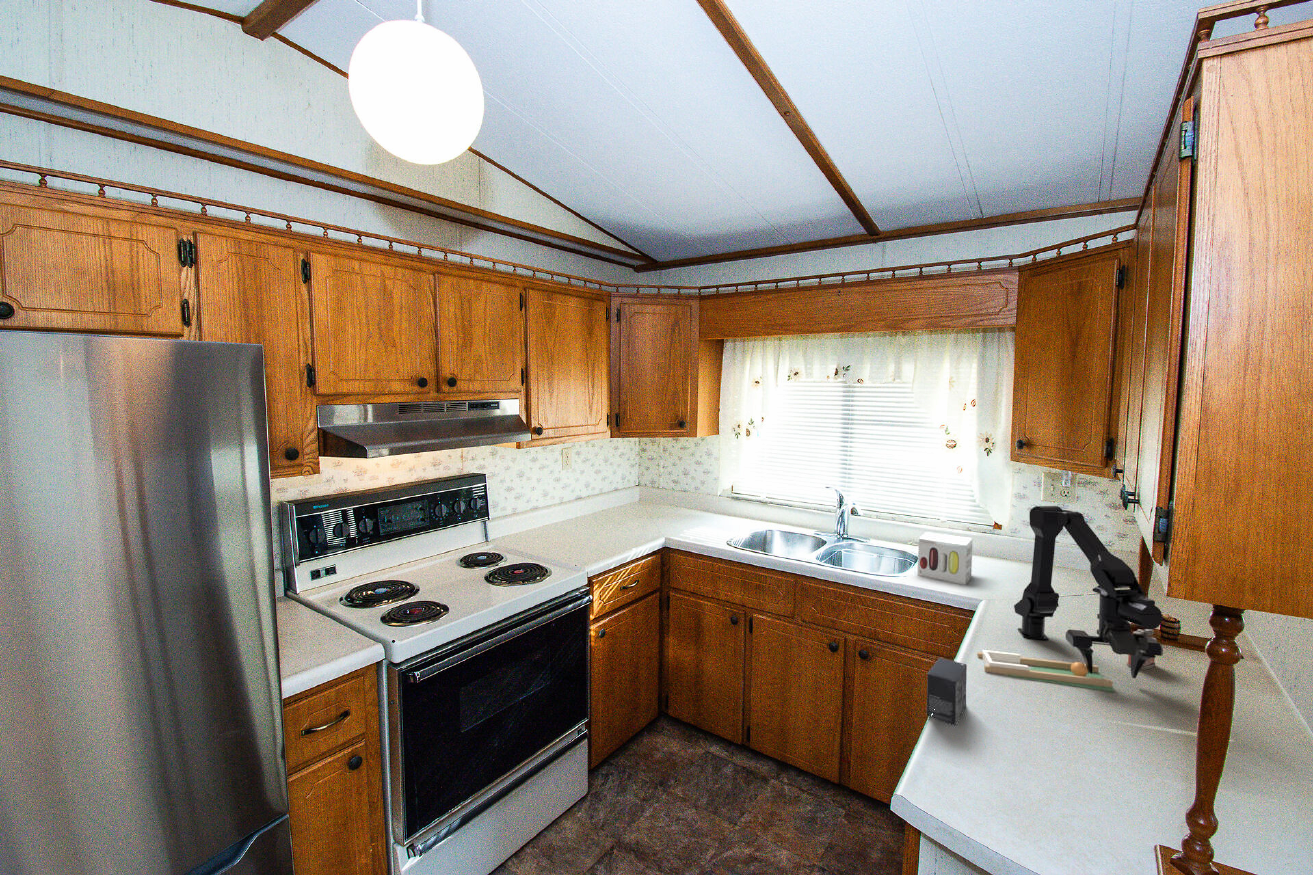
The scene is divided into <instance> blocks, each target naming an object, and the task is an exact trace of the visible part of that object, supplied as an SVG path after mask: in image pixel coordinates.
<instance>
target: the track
mask: <svg viewBox="0 0 1313 875" xmlns="http://www.w3.org/2000/svg"><path fill="white" fill-rule="evenodd" d="M976 654H977V658H978V659H982V652H979V651H977V653H976ZM1073 663H1074V662H1068V661H1059V660H1053V659H1051V660H1050V659H1044V658H1043V659H1041V658H1034V657H1033V658H1032V657H1024V656H1020V665H1030V666H1033V667H1029V671H1026V670H1017V669H1009V668H1000V667H992V666H989V665H985V664H984V668H983V669H984V672H986V673H992V674H999V675H1004V676H1005V677H1006V678H1007V677H1008V678H1014V679H1015V678H1016V679H1023V680H1029V681H1036V682H1043V683H1051V684H1057V685H1064V686H1070V687H1071V686H1072V687H1078V688H1084V689H1091V690H1092V689H1093V690H1097V691H1098V690H1099V691H1104V692H1105V691H1106V692H1115V689H1114V687H1113V683H1114V681H1113V680H1112V679H1110V678H1109V679H1108V678H1104V677H1103V675H1101V674H1100V673H1099V670H1100V669H1099V668H1100V667H1099V666H1098V665H1096V664H1095V665H1094V664H1093V671H1092V674H1090V673H1089V671H1088V673H1087V675H1086V676H1085V677H1084V676H1075V675H1074V674H1073V673H1072V672H1071V665H1072V664H1073ZM1083 664H1084V665H1085V666H1086V664H1085V663H1083ZM1086 667H1087V666H1086Z"/></svg>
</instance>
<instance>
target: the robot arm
mask: <svg viewBox="0 0 1313 875" xmlns="http://www.w3.org/2000/svg"><path fill="white" fill-rule="evenodd" d="M1028 515H1029V526H1030V528H1031V530H1032V532H1033V533H1034V543H1033V544H1034V546H1033V555H1032V565H1031V566H1032V567H1031V579H1030V582H1029V583H1028V584H1027V586H1026V587H1025V588H1024V589H1023V593H1022V597H1021V599H1020V600H1019V601H1018V602H1017V603H1016V604H1014V605H1013V609H1014V613H1016V615H1019V616H1021V627H1020V628H1019V627H1018V628H1017V631H1018V632H1019V634H1020V635H1021V636H1022V637H1023V638H1024V639H1034V640H1043V641H1049V640H1050V639H1049V637H1048V636H1047V635H1046V634H1045V628H1046V618H1053V617H1054V614H1055V612H1056V611H1057V608H1058V607H1060V605H1059V598H1060V595H1059V593H1058V592H1056V591H1055V590H1054V588H1053V586H1052V580H1053V570H1054V560H1055V548H1056V538H1057V537H1058V536H1059V534H1060V533H1061V532H1062V531H1063V530H1064V528H1065V530H1066V531H1067V532H1068V534H1069V535H1070V536H1071V538H1072V539H1073V541H1074V542H1075V544H1077V546H1078V547H1079V549H1080V550H1081V551H1082V553H1083V554H1084V556H1085V557H1086V558H1087V560H1088V561H1089V563H1090V566H1089V567H1090V573H1091V575H1092V576H1093V578H1094V580H1095V582H1096V584H1097V586H1096V587H1094V588H1093V587H1092V590H1091V591H1092V592H1094V593H1096V594H1099V603H1098V604H1099V609H1098V610H1099V611H1098V613H1097V616H1096V618H1097V619H1098V629H1096V634H1097V635H1098V636H1097V635H1089V634H1088V633H1087V632H1086V631H1085V630H1079V629H1068V630H1067V631H1066V632H1065V640H1066V641H1067V642H1068V643H1069V644H1070V645H1071V646H1072V647H1074V648H1076V649H1077V650H1078V651H1079V652H1080V653H1081V655H1082V660H1084V664H1086V666H1087V669H1088V671H1089V673H1090V674H1092V671H1093V665H1094V664H1093V653H1094V650H1093V649H1092V647H1093V644H1094V645H1100V646H1101V645H1102V646H1110V648H1111V649H1112V652H1113V653H1114V654H1116V655H1120V656H1121V655H1127V656H1128V655H1131V668H1130V676H1131V678H1133V679H1136V678H1137V676H1138V675H1139V673H1140V670H1142V669H1141V667H1142V665H1143V664H1144V663H1145V661H1146V660H1148V659H1150V658H1156V657H1159V656H1160V657H1163V656H1164V648H1163V645H1162V644H1161V643H1160V642H1159V641H1158V640H1157V639H1156V640H1157V641H1156V640H1154V639H1153V638H1154V637H1153V638H1152V636H1149V637H1148V636H1146V635H1140V634H1133V631H1132V629H1131V624H1134V625H1136V626H1139V627H1141V628H1144V629H1145V630H1146V629H1150V630H1155V629H1157V628H1159V627H1160V625H1161V624H1162V623H1163V618H1164V614H1162V611H1161V609H1160V608H1159V607H1158V606H1157V605H1156V601H1155V600H1154V599H1151V598H1146V594H1145V592H1144V590H1143V588H1142V586H1141V585H1140V583H1139V581H1138V579H1137V577H1136V575H1135V572H1134V570H1133V569H1132V568H1131V567H1130V566H1129V565H1128V564H1127V563H1126V562H1125V561H1124V560H1123V559H1122V558H1119V557H1118V556H1116V555H1114V554H1112V553H1111V551H1109V550H1108V548H1107V547H1106V546H1105V544H1104V543H1103V542H1102V541H1101V539H1099V537H1098V536H1097V535H1096V533H1095V532H1094V531H1093V529H1092V527H1091V526H1090V525H1089V524H1088V523H1087V521H1086V520H1085V517H1084V515H1083V514H1082V513H1081V512H1079V511H1073V510H1067V509H1062V508H1061V507H1060V506H1058V505H1038V506H1037V505H1036V506H1034V507H1032V508H1031V509H1030V511H1029V514H1028Z"/></svg>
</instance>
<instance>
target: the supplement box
mask: <svg viewBox="0 0 1313 875" xmlns="http://www.w3.org/2000/svg"><path fill="white" fill-rule="evenodd" d="M973 540H974V539H973V537H968V536H958V535H953V534H952V535H951V534H943V533H936V532H929V531H925V533H923V534H921V536H920V537H919V538H918V549H917V550H918V554H917V576H919V577H925V578H929V579H934V580H938V581H943V582H944V581H945V582H949V583H953V584H954V583H955V584H959V585H964V586H965V585H967V583H968V582H969V581H970V580H971V578H972V567H973V565H972V564H973V543H974V542H973Z"/></svg>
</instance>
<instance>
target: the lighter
mask: <svg viewBox="0 0 1313 875" xmlns="http://www.w3.org/2000/svg"><path fill="white" fill-rule="evenodd" d="M1132 634H1140V635H1146V636H1148V637H1150V636H1151V637H1152V636H1153V635H1154V629H1152V630H1150V629H1146V628H1145V629H1140V628H1138V629H1137V630H1136V631H1132ZM1152 638H1153V639H1154V640H1156V641H1157V642H1158V640H1157V638H1156V637H1152ZM1127 656H1128V657H1127V658H1128V659H1127V663H1126V666H1127V667H1128V668H1130V669H1131V655H1127ZM1155 658H1156V657H1155ZM1155 658H1150V659H1148V660H1146V661H1145V663H1144V664H1143V665H1142V667H1141V669H1140V670H1149V669H1153V668H1155V667H1156V662H1155Z"/></svg>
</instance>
